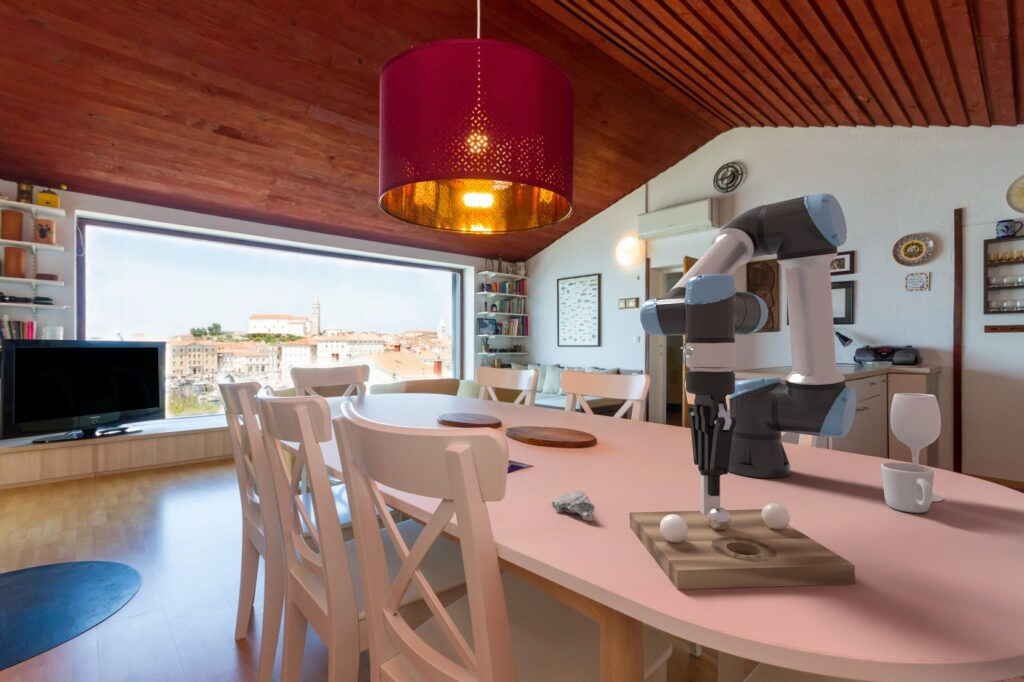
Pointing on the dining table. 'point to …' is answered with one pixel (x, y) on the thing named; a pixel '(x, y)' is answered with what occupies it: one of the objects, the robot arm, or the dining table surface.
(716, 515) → the steel ball
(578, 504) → the stone
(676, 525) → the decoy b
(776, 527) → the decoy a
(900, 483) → the cup
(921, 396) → the wineglass
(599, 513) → the dining table surface
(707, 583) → the board
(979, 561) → the dining table surface
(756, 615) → the dining table surface
